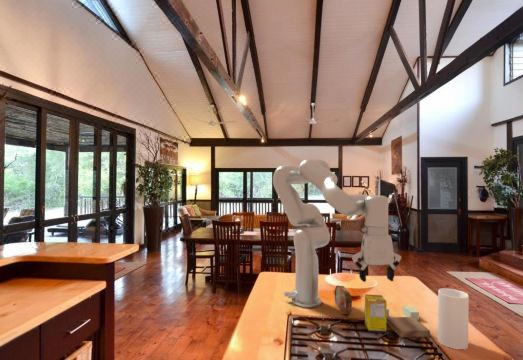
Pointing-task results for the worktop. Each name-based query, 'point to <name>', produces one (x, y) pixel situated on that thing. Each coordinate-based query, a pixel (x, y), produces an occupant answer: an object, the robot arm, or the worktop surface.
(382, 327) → the supplement box
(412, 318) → the walnut slab
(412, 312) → the sage brick
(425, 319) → the worktop surface
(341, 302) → the tin
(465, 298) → the cup
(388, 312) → the slate brick
